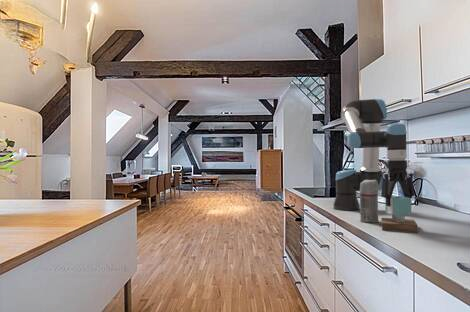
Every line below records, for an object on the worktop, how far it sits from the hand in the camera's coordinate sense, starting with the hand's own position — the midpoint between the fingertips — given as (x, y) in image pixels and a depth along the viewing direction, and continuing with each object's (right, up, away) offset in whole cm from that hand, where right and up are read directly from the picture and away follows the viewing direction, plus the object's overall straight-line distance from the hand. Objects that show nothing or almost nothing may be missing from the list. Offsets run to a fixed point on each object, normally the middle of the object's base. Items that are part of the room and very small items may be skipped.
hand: (398, 213), depth 135 cm
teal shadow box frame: (0, 0, 0) cm, 0 cm away
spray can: (-6, -7, +15) cm, 18 cm away
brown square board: (0, -6, 0) cm, 6 cm away
